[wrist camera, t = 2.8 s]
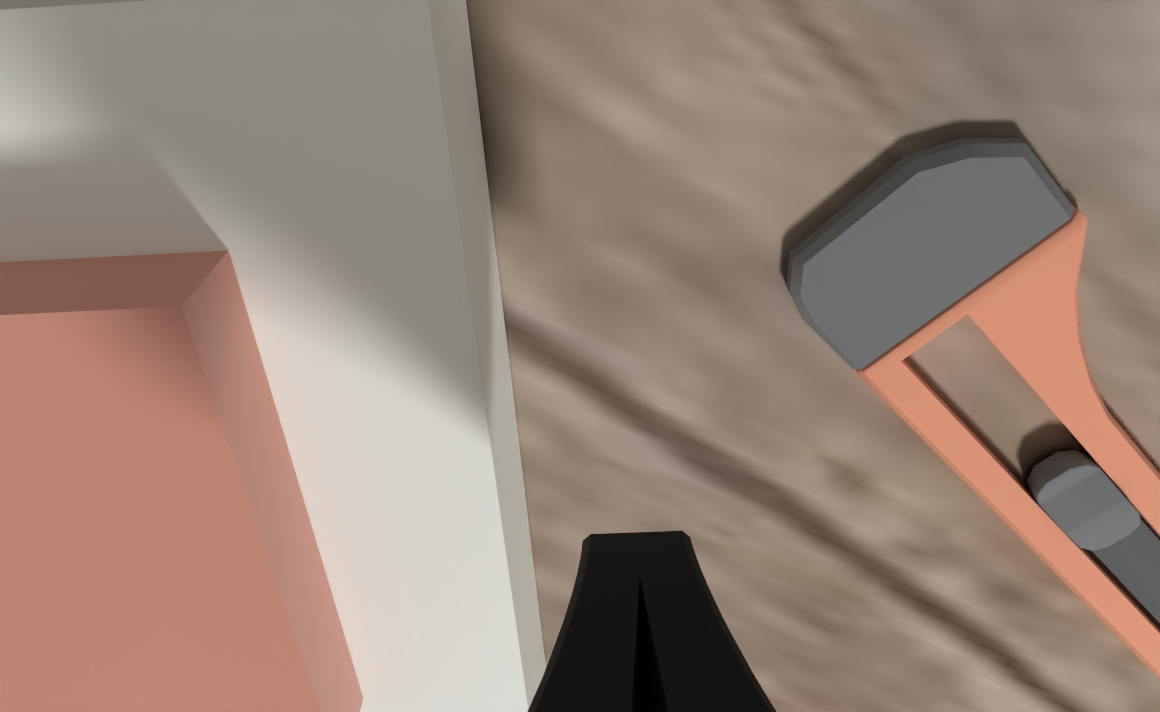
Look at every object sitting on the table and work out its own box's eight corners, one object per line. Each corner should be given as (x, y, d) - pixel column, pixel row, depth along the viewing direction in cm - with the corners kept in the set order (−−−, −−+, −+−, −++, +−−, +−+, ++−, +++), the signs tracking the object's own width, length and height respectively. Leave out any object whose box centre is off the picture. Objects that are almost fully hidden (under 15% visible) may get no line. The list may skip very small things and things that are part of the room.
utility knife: (1005, 100, 12) (1430, 679, 19) (978, 83, 13) (1394, 643, 20) (768, 289, 14) (1237, 761, 20) (758, 264, 15) (1211, 725, 21)
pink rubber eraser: (44, 708, 16) (-3, 785, 15) (-224, 273, 11) (-329, 330, 10) (363, 697, 16) (343, 775, 14) (229, 250, 11) (181, 305, 10)
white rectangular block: (80, 679, 20) (6, 803, 17) (-305, -2, 12) (-543, 43, 10) (545, 663, 20) (539, 788, 17) (460, -50, 12) (425, -17, 9)
